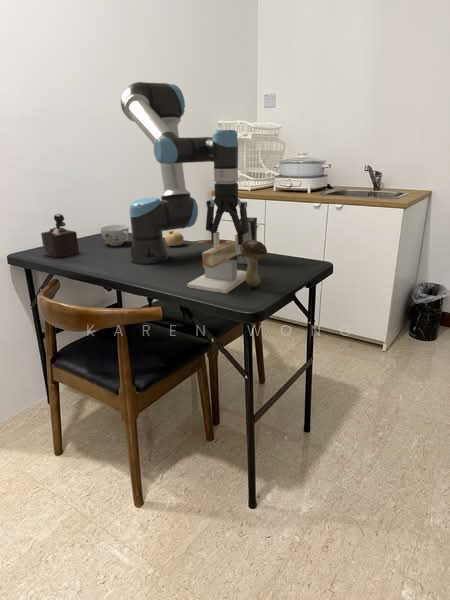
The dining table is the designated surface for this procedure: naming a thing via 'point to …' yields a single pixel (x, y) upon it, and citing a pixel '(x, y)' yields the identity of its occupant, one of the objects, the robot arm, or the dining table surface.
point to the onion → (174, 238)
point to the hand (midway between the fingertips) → (227, 252)
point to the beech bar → (218, 254)
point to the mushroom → (253, 260)
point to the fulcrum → (220, 278)
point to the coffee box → (248, 238)
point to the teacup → (115, 234)
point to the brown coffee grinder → (59, 240)
